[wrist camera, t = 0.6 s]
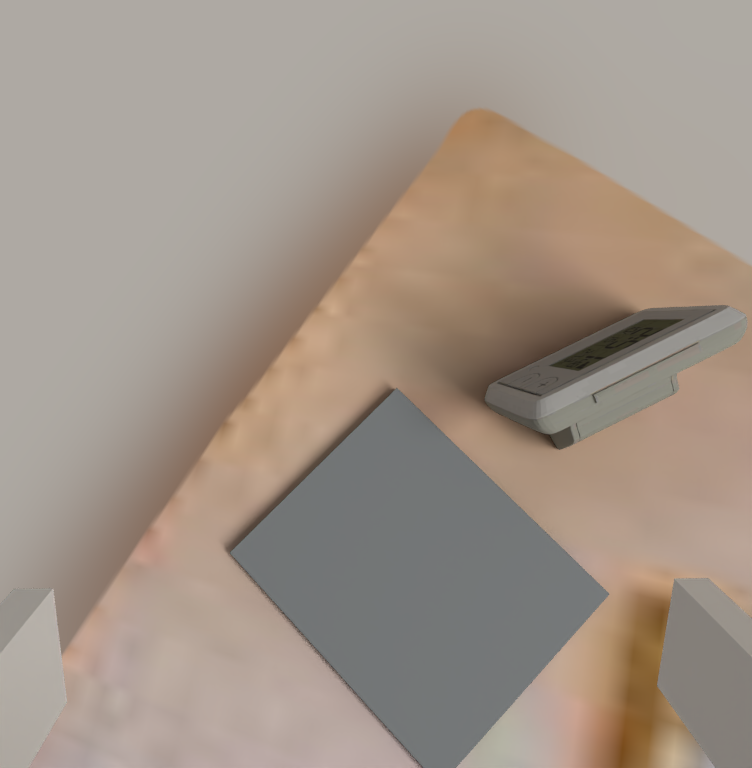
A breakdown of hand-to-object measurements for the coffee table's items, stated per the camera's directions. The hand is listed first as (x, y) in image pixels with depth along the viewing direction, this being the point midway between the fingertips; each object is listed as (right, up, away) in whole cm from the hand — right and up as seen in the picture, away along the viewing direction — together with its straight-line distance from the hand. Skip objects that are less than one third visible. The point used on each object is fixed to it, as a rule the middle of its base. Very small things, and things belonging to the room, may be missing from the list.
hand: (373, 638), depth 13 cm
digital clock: (+17, +6, +36) cm, 40 cm away
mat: (+3, -9, +32) cm, 34 cm away
